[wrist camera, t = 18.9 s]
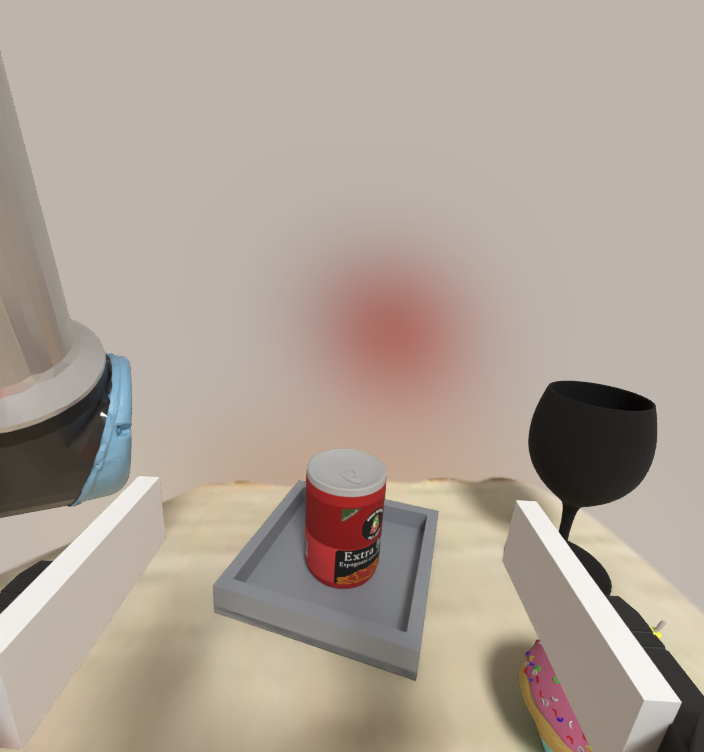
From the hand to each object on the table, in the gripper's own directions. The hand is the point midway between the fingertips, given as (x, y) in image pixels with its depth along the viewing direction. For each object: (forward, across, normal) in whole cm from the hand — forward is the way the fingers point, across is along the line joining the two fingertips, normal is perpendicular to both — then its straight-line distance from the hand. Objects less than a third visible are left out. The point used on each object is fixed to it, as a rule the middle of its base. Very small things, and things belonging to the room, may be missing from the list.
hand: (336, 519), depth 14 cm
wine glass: (+22, +24, -22) cm, 39 cm away
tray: (+20, 0, -22) cm, 30 cm away
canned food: (+20, 0, -21) cm, 29 cm away
